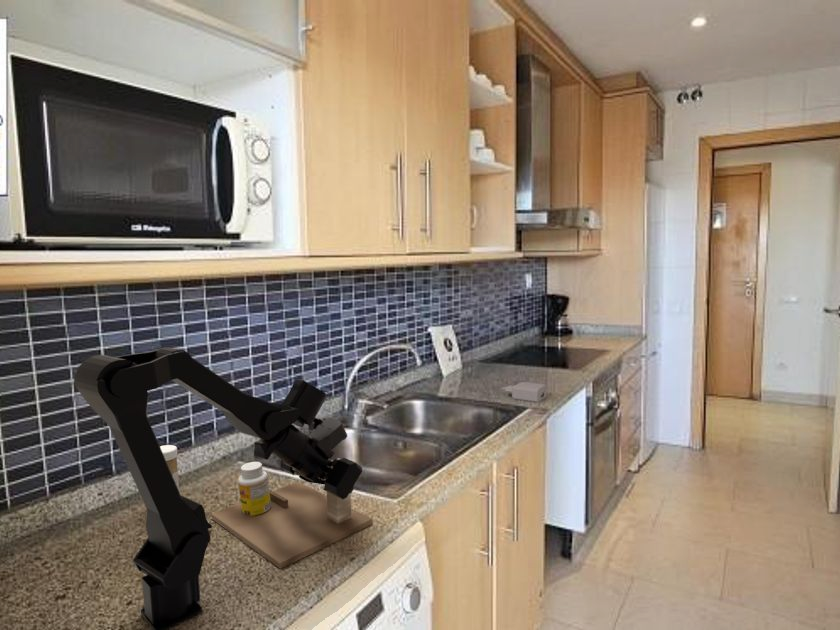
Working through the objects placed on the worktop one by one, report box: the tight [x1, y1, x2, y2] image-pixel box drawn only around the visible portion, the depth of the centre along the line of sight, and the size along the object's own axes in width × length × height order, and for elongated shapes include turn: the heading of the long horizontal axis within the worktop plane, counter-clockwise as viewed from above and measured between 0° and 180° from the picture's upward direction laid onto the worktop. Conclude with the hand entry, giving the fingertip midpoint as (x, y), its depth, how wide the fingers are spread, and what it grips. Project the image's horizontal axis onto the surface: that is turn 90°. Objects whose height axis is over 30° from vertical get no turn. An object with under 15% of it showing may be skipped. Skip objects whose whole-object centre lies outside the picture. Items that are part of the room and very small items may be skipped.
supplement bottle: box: [237, 461, 271, 516], centre depth 107 cm, size 6×6×10 cm
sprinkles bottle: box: [159, 444, 180, 491], centre depth 108 cm, size 5×5×14 cm
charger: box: [501, 381, 548, 403], centre depth 191 cm, size 5×9×15 cm
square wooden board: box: [210, 457, 374, 569], centre depth 104 cm, size 20×25×12 cm
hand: (345, 487), depth 104 cm, fingers open, 4 cm apart
